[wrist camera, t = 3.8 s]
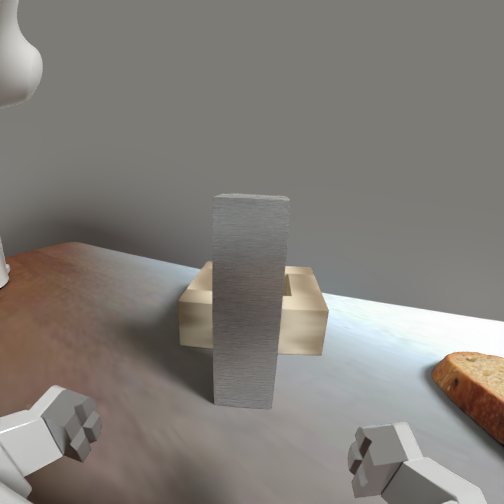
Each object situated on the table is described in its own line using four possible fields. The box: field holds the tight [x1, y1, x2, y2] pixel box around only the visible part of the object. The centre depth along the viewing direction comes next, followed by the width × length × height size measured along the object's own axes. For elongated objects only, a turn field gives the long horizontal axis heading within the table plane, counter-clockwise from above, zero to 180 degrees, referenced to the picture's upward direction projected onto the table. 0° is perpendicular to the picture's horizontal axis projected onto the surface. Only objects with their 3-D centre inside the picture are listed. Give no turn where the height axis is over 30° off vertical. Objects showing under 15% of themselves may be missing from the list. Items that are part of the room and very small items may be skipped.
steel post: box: [212, 193, 290, 409], centre depth 19 cm, size 4×4×14 cm
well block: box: [178, 261, 329, 355], centre depth 32 cm, size 13×13×4 cm
